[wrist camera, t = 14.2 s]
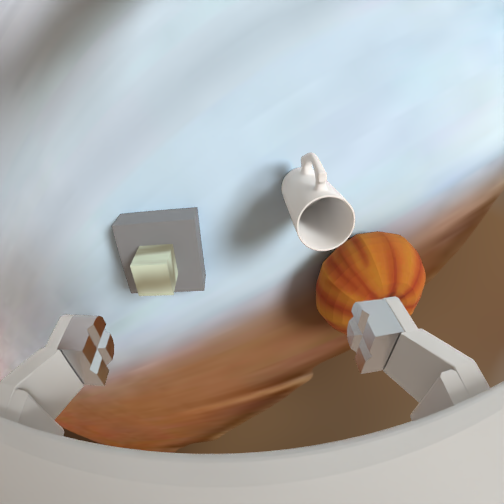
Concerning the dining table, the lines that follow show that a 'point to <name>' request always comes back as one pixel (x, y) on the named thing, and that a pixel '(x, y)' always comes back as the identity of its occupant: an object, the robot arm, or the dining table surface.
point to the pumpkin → (368, 276)
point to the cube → (155, 270)
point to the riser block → (163, 242)
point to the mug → (317, 206)
